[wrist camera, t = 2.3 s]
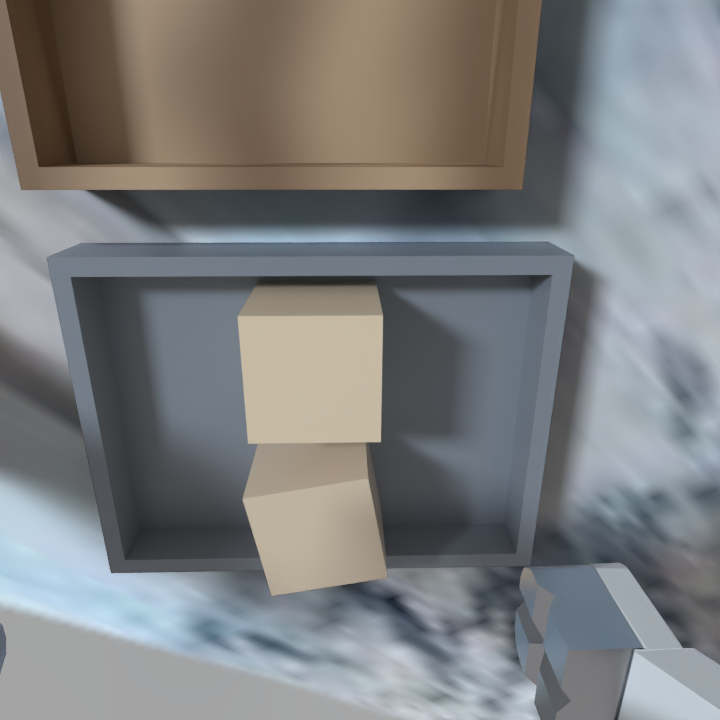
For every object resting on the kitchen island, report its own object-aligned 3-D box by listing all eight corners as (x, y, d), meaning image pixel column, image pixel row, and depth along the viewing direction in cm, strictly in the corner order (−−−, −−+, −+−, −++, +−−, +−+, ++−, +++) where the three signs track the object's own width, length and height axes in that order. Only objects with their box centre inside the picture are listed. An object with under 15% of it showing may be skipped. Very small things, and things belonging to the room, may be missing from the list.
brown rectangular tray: (525, -163, 15) (565, -228, 13) (495, 181, 19) (522, 189, 16) (6, -171, 15) (-70, -240, 12) (70, 181, 18) (21, 189, 16)
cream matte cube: (375, 280, 19) (383, 315, 16) (374, 387, 21) (380, 442, 17) (258, 281, 19) (237, 316, 16) (265, 388, 21) (247, 443, 17)
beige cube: (363, 418, 21) (368, 478, 18) (380, 505, 23) (387, 577, 19) (260, 435, 21) (242, 499, 18) (283, 521, 23) (271, 595, 19)
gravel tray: (548, 241, 20) (574, 255, 17) (512, 526, 24) (530, 566, 22) (81, 243, 19) (46, 257, 17) (133, 531, 24) (111, 573, 21)
